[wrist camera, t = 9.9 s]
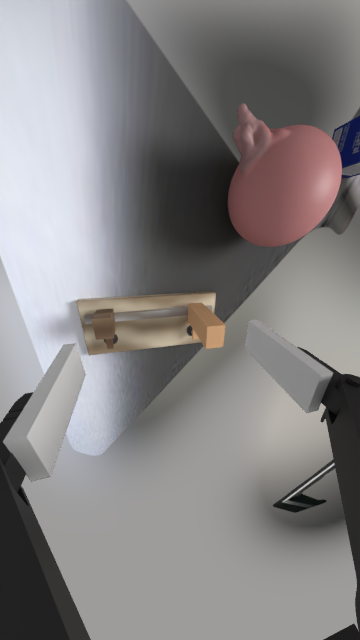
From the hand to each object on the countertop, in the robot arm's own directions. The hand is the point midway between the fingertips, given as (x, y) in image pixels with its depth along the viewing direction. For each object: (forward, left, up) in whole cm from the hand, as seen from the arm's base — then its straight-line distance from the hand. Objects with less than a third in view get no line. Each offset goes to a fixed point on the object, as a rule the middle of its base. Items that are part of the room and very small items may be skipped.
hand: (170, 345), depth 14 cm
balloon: (-16, +19, -27) cm, 36 cm away
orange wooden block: (+9, +9, -24) cm, 27 cm away
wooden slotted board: (+9, 0, -26) cm, 28 cm away
